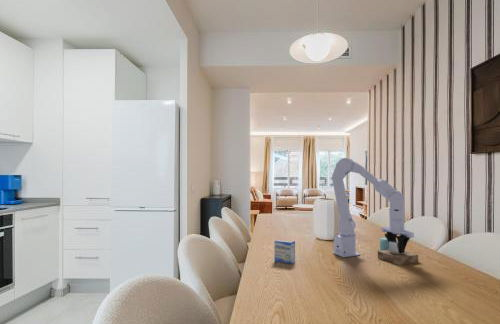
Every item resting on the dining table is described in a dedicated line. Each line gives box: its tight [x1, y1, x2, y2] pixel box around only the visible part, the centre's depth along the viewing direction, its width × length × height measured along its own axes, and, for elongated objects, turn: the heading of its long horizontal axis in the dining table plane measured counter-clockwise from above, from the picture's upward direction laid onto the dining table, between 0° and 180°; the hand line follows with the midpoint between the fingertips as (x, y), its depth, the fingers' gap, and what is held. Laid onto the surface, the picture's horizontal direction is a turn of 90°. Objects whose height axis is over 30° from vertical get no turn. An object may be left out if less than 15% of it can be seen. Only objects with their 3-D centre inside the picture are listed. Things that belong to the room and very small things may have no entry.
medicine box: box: [273, 239, 296, 265], centre depth 125 cm, size 8×4×9 cm, turn 62°
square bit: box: [389, 239, 404, 255], centre depth 126 cm, size 4×4×6 cm
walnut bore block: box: [377, 250, 419, 266], centre depth 126 cm, size 11×11×3 cm
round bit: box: [379, 237, 389, 251], centre depth 140 cm, size 6×6×6 cm
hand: (397, 251), depth 126 cm, fingers closed on square bit, 4 cm apart
